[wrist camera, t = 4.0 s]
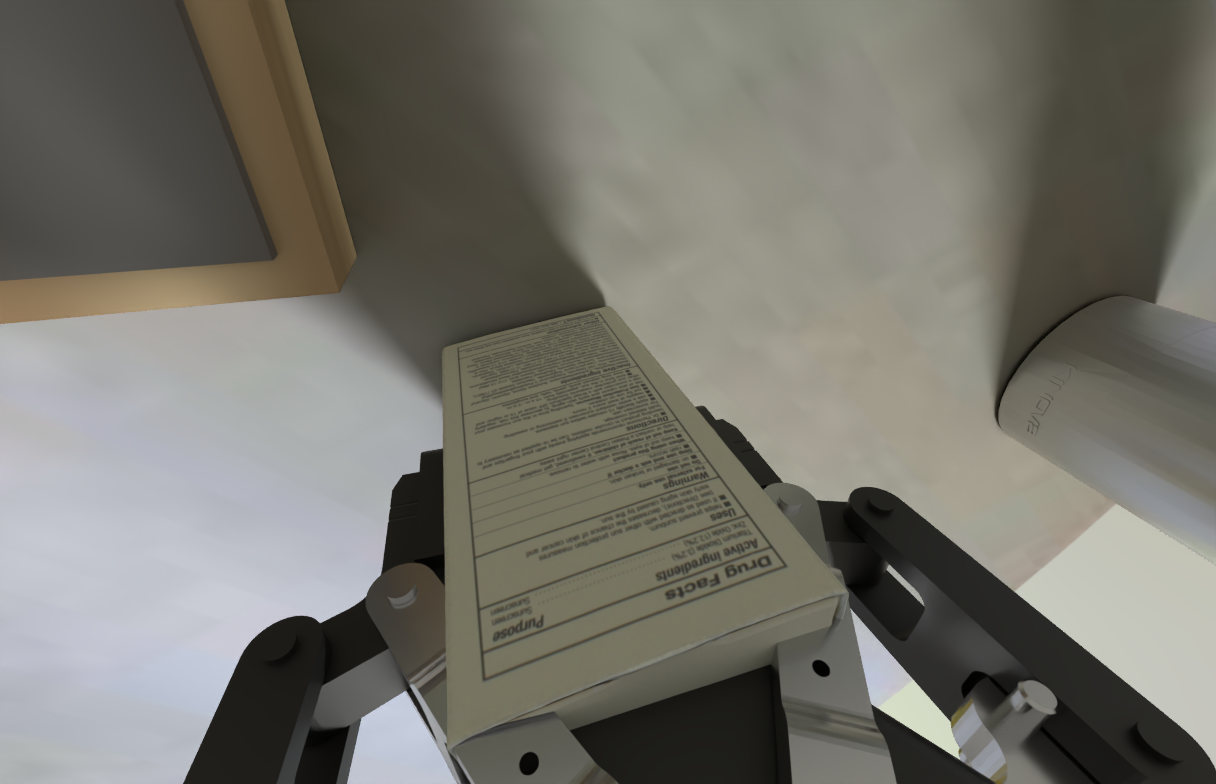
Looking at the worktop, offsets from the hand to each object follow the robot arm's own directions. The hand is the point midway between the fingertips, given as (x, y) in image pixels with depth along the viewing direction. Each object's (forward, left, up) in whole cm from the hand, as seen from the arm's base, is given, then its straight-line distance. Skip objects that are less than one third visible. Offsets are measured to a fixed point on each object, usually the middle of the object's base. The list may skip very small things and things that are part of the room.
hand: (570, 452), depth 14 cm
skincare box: (0, 0, -5) cm, 5 cm away
